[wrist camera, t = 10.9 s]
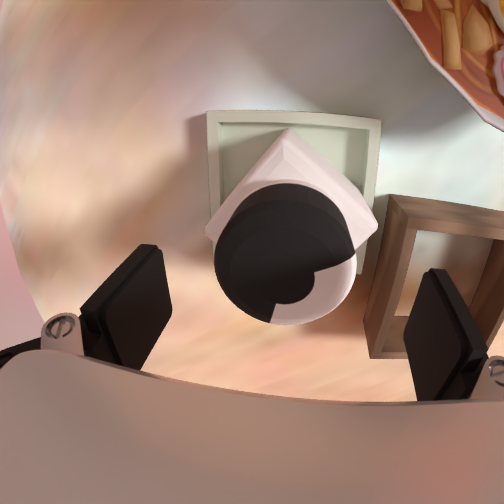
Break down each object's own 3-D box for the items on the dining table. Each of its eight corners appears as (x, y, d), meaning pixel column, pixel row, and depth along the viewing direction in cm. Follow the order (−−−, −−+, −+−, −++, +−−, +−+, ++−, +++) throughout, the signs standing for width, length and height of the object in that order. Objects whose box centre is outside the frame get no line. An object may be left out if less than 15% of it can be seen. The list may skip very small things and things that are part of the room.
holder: (507, 212, 20) (537, 235, 16) (468, 322, 26) (484, 354, 22) (389, 193, 22) (408, 216, 18) (363, 321, 28) (369, 358, 23)
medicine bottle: (228, 196, 24) (166, 279, 13) (288, 125, 20) (272, 149, 10) (297, 252, 25) (288, 365, 14) (360, 190, 22) (407, 275, 11)
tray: (375, 118, 20) (381, 120, 18) (358, 263, 25) (361, 274, 24) (213, 110, 21) (206, 111, 20) (218, 252, 27) (213, 263, 25)
